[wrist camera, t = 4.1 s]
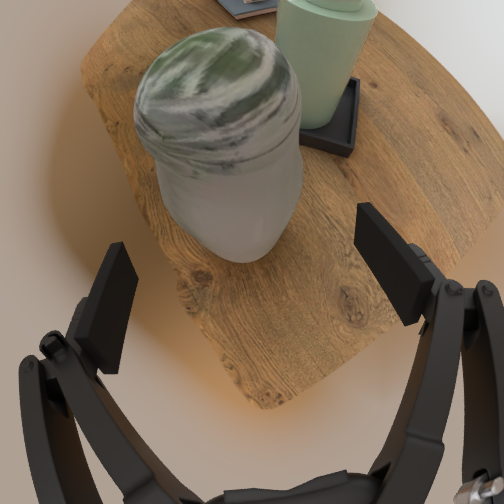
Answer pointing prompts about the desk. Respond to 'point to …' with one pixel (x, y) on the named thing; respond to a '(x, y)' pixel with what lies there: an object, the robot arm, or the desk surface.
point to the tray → (337, 125)
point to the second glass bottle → (322, 49)
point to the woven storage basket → (248, 7)
